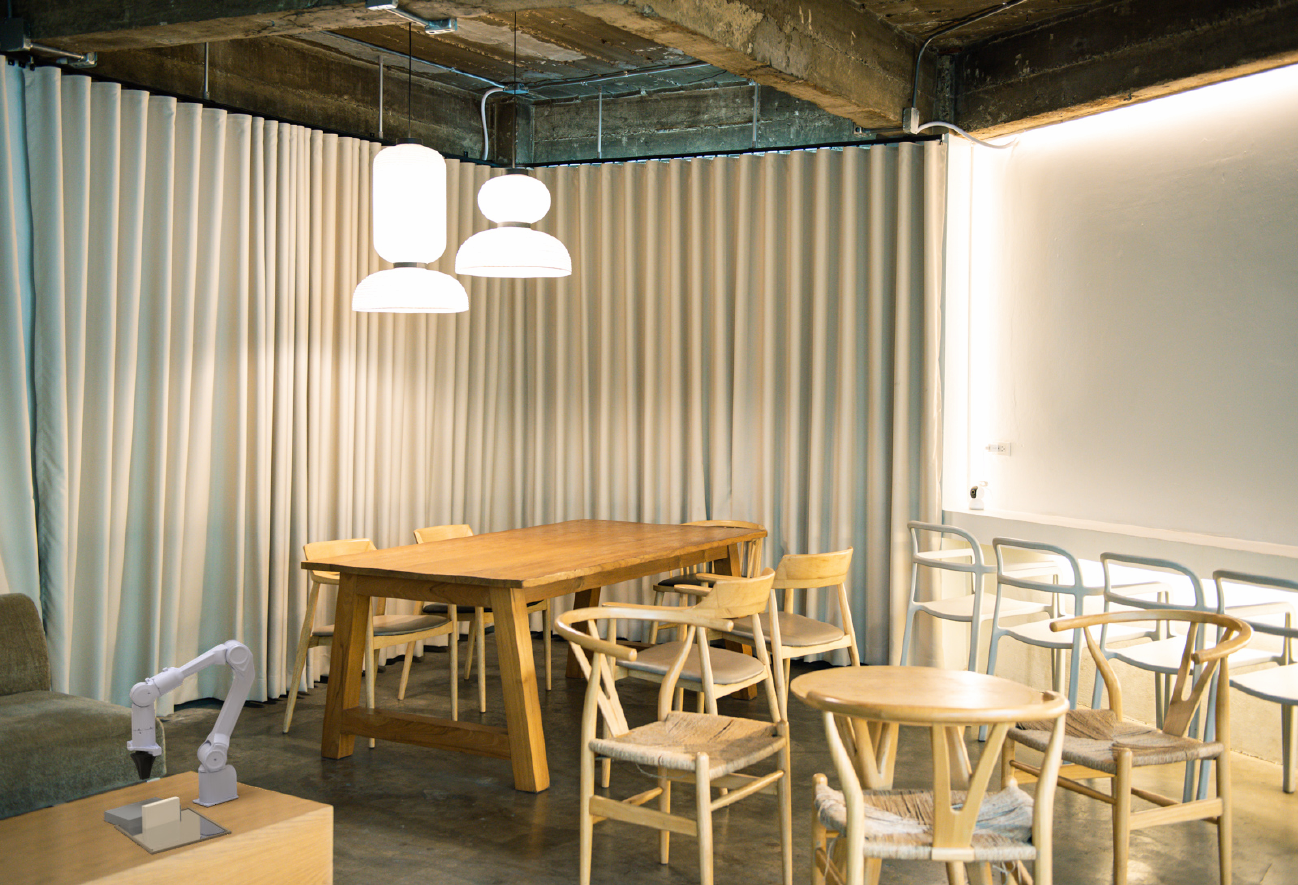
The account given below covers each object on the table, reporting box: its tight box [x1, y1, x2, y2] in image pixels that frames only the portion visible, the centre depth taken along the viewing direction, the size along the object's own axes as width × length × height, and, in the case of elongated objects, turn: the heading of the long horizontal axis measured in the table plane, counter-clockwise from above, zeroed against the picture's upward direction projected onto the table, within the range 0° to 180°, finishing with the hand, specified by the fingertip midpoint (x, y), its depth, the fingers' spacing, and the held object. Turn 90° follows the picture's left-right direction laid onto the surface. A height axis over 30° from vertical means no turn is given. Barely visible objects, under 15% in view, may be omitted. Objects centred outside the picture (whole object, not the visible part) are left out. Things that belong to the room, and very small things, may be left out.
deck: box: [103, 796, 182, 829], centre depth 282 cm, size 14×13×2 cm
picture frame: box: [114, 806, 233, 855], centre depth 271 cm, size 19×1×28 cm
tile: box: [142, 796, 181, 829], centre depth 276 cm, size 9×6×2 cm
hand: (144, 778), depth 285 cm, fingers closed
